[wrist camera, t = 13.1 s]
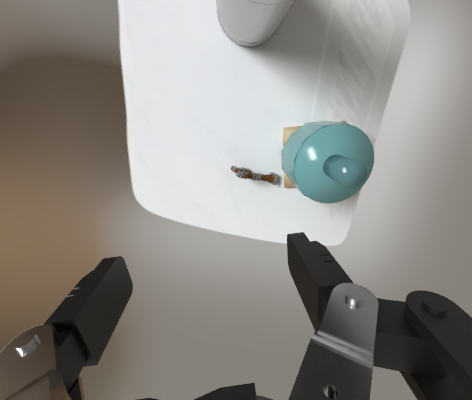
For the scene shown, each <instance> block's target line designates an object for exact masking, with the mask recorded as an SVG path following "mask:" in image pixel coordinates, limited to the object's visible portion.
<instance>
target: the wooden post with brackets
mask: <svg viewBox="0 0 472 400" xmlns="http://www.w3.org/2000/svg"><path fill="white" fill-rule="evenodd" d="M231 170H232V171H233V172H235V173H236V176H238V177H239V178H245V179H247V178H250V179H252V180H264V181H268V182H270V183H271V184H273V185H275V183H276V180H277V178H278V176H277V175H276V174H274V173H270V175H260V174H256V173H251V171H250V170H249V169H244V168H243V167H242V169H238V168H236V167H233V166H232V168H231Z"/></svg>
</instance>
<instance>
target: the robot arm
mask: <svg viewBox="0 0 472 400" xmlns="http://www.w3.org/2000/svg"><path fill="white" fill-rule="evenodd" d="M294 1H295V0H216V3H217V15H218V19H219V23H220V25H221V27H222V29H223V31H224V32H225V34H226V35H227V37H229V38H230V39H231V40H232V41H233V42H235V43H237V44H238V45H242V46H245V47H253V46H257V45H260V44H262V43H264V42H265V41H266V40H267V39H269V38H270V37H271V35H272V34H273V33H274V32H275V30H276V29H277V27H278V25H279V24H280V23H281V21H282V20H283V18H284V17H285V15H286V14H287V12H288V11H289V9H290V8H291V6H292V5H293V3H294ZM287 248H288V249H287V250H288V265H289V270H290V273H291V276H292V278H293V280H294V283H295V285H296V287H297V290H298V292H299V294H300V297H301V299H302V301H303V304H304V306H305V308H306V311H307V313H308V315H309V318H310V320H311V322H312V325H313V327H314V329H315V332H316V333H314V334H313V335H312V337H311V340H310V343H309V345H308V348H307V351H306V353H305V356H304V359H303V362H302V364H301V367H300V370H299V373H298V375H297V378H296V381H295V384H294V386H293V389H292V392H291V395H290V397H289V400H369V399H370V389H371V380H372V370H373V366H376V367H381V368H386V369H391V370H396V371H400V373H401V374H402V376H403V377H404V379H405V381H406V382H407V384H408V385H409V387H410V389H411V390H412V391H413V393H414V395H415V396H416V398H417V400H472V318H471V317H470V316H469V315H468V314H467V313H466V312H464V311H463V310H462V309H461V308H460V307H459V306H458V305H456V304H455V303H454V302H452V301H451V300H449V299H448V298H446V297H444V296H441V295H439V294H436V293H433V292H429V291H413V292H411V293H409V294H408V295H407V297H406V302H401V301H393V300H385V299H379V298H376V296H375V295H374V294H373V293H372V292H371V291H369V290H368V289H367V288H365V287H363V286H360V285H357V284H354V283H353V282H352V280H351V279H350V278H349V277H348V275H347V274H346V273H345V271H344V270H343V269H342V268H341V266H340V265H339V264H338V262H337V261H335V258H334V257H333V256H332V255H331V253H330V252H329V251H328V249H327V248H326V247H325V246H324V245H322V244H320V243H319V242H317V241H312V242H310V241H309V239H308V238H307V236H306V235H305V234H304V233H303V232H301V233H293V234H288V235H287ZM132 290H133V284H132V280H131V277H130V275H129V272H128V269H127V266H126V263H125V261H124V259H123V257H121V256H118V257H111V258H104V259H103V260H102V261H101V262H100V263H99V264H98V266H97V267H96V268H95V269H94V270H93V271H91V272H90V273H89V274H87V275H86V276H85V277H83V278H82V279H81V280H80V281H79V283H78V284H77V285H76V286H75V287H74V290H72V291H71V292H70V294H68V297H66V298H65V300H63V302H62V303H61V304H60V305H59V306H58V308H57V309H56V310H55V311H54V313H53V314H52V315H51V316H50V318H49V319H48V320H47V321H46V322H45V323H44V324H43V325H39V326H35V327H33V328H30V329H28V330H26V331H25V332H23V333H21V334H20V335H18V336H17V337H15V338H14V339H13V340H12V341H11V342H10V343H8V344H7V345H6V347H5V348H4V349H3V350H2V351H1V353H0V400H86V399H85V393H84V388H83V382H82V378H81V376H80V375H79V374H80V372H81V370H82V368H83V367H85V366H92V365H97V364H98V362H99V360H100V358H101V356H102V354H103V351H104V349H105V347H106V345H107V344H108V341H109V339H110V337H111V335H112V333H113V331H114V329H115V327H116V325H117V323H118V321H119V319H120V317H121V315H122V313H123V311H124V309H125V307H126V305H127V303H128V301H129V299H130V297H131V294H132ZM138 400H157V399H152V398H146V399H138ZM194 400H272V399H269V398H266V397H263V396H258V395H256V392H255V384H254V383H250V384H243V385H236V386H229V387H223V388H219V389H217V390H214V391H212V392H210V393H208V394H205V395H203V396H201V397H199V398H197V399H194Z"/></svg>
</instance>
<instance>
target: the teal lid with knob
mask: <svg viewBox="0 0 472 400" xmlns="http://www.w3.org/2000/svg"><path fill="white" fill-rule="evenodd" d="M373 163H374V150H373V146H372V143H371V141H370V139H369V138H368V136H367V135H366V134H365V133H364V132H363V131H362V130H360V129H359V128H357V127H354V126H351V125H349V124H347V123H344V122H332V121H320V122H311V123H306V124H304V125H303V126H301V127H300V128H299V129H297V130H296V131H294V132H293V133H292V134H290V136H289V138H288V140H287V142H286V144H285V146H284V148H283V150H282V169H283V171H284V172H285V174H286V175H287V177H288V178H289V180H290V182H291V183H292V184H293V185H294V186H295V187H296V188H297V189H298V190H299V191H300V192H301V193H302V194H303V195H304V196H307V197H309V198H310V199H312V200H314V201H317V202H320V203H334V202H339V201H342V200H344V199H347V198H349V197H350V196H352V195H353V194H355V193H356V192H357V191H358V190H359V189H360V188H361V187H362V186H363V185H364V184H365V182H366V181H367V179H368V178H369V175H370V173H371V171H372V167H373Z"/></svg>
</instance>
